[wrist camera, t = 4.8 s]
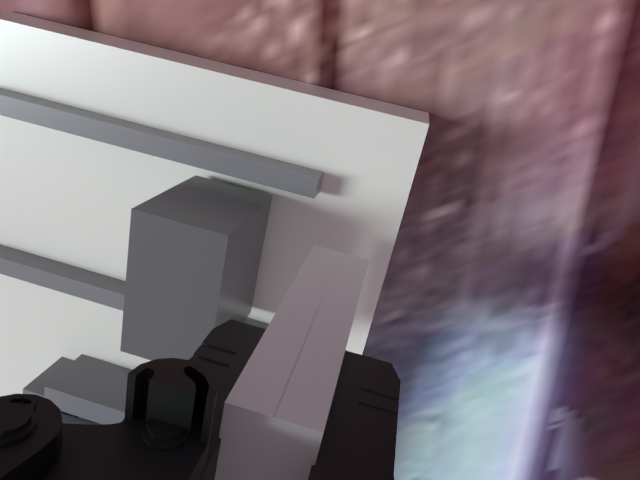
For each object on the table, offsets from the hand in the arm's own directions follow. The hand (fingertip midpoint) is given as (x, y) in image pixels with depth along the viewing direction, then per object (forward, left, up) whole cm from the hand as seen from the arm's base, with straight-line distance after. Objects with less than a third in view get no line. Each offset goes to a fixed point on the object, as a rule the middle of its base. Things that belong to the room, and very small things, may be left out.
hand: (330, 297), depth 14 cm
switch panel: (+8, -6, -5) cm, 11 cm away
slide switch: (0, -4, -2) cm, 4 cm away
